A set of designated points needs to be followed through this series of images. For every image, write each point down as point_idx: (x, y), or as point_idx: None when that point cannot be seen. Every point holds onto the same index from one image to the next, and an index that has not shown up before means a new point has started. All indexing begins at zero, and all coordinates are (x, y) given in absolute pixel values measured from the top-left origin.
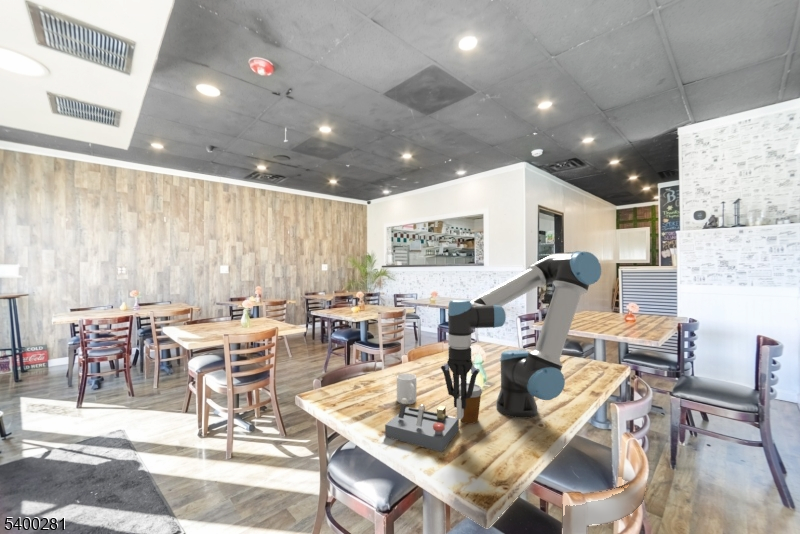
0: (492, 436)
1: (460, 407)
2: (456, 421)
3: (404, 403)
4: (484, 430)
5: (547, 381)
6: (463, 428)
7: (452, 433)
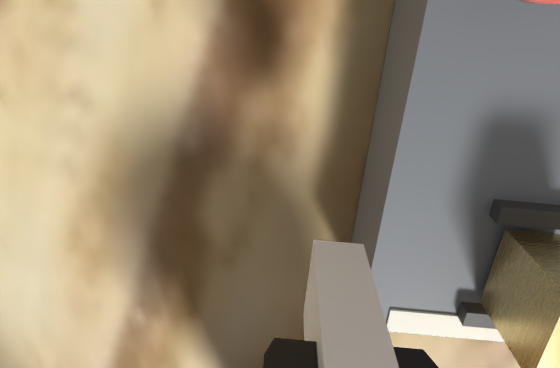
0: (106, 258)
1: (330, 337)
2: None
3: None
4: (177, 313)
5: None
6: None
7: (377, 147)
